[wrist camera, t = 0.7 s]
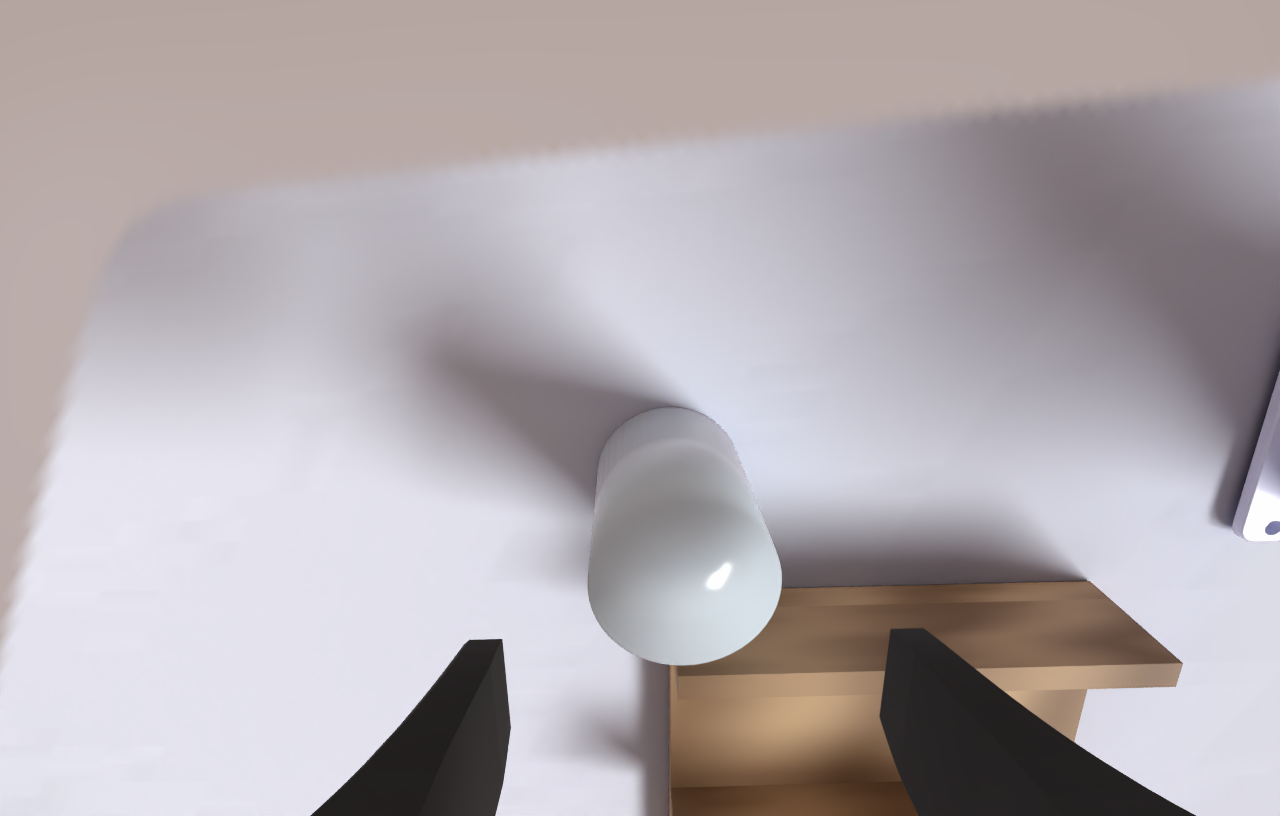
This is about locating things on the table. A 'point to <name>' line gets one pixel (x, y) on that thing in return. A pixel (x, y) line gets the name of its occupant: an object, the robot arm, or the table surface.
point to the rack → (880, 689)
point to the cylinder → (679, 542)
